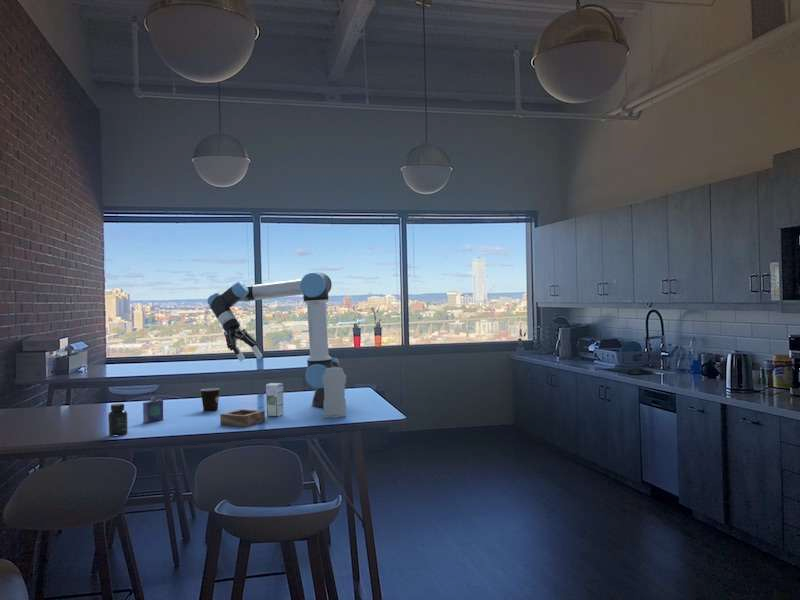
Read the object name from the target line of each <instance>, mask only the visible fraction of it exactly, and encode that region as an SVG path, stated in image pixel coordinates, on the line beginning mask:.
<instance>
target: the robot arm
mask: <svg viewBox="0 0 800 600" xmlns="http://www.w3.org/2000/svg"><path fill="white" fill-rule="evenodd" d="M332 287H333V285H332V280H331V278H330V277H329V276H328V275H327V274H326V273H323V272H319V271H310V272H308V273H306V274H304V276H302V278H301V279H295V280H285V281H277V282H269V283H259V284H253V285H246V284H245V283H244V282H243V281H237V282H235V283H233V284H232V285H231V286H230V287H229V288H227V289H226V290H225V291H224V292H223V293H220V292H215V293H214V294H210V296H208V298H207V304H208V306H209V308H210V310H211V311H212V313H213V314H214V316H215V318H216V320H217V321H218V322H219V324H220V325H221V326H222V329H223V330H224V332H223V335H224V337H225V342H226V347H227V349H229V351H231V352H232V351H233V352H234V354H235V356H236V357H237V359H238V361H239V362H241V363H242V361H244V359H245V358H246V357H245V356H244V354H243V352H242V351H241V349H240V348H239V346H237V340H239V341H243V342H244V343H245V344H246V345H248V346H249V347H251V351H252V352H253V354H254V355H255V357H256V359H257V360H260V359H261V358H262V357H263V354H262V352H261V351H260V349H259V348H258V346H257V345H258V344H259V342H258V341H257V340H255V338H254V337H253V336H252V335H250V334H249V333H248V331H247V330H246V328H243V329H241V328H240V326H241V324H240V322H239V321H238V319H237V318H236V316H235V315H234V313H233V311H232V310H231V308H232V307H233V306H234V305H235V304H237V303H239V302H251V301H259V300H266V299H267V300H268V299H269V300H270V299H277V298H286V297H295V296H302V295H303V298H302V299H303V303H305V304H306V308H307V323H308V324H307V325H308V338H309V339H308V341H309V342H308V343H309V357H308V358H307V360H306V362H307V365H306V366H307V369H306V371H305V380H306V383H307V384H308V385H309V386H310V387H311V388H313V389H315V391H314V395H313V397H312V403H311V404H312V405H311V406H313V407H316V408H324V403H323V402H324V398H325V397H324V385H323V384H322V376H323V375H324V373H325V369H328V368H332V367H337V368H340V360H339V359H338V358H336V357H332V356H330V354H329V339H328V323H327V307H326V306H327V305H326V304H327V303H328V302H329V293H330V292H331V290H332Z"/></svg>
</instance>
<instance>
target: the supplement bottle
mask: <svg viewBox="0 0 800 600" xmlns="http://www.w3.org/2000/svg"><path fill="white" fill-rule="evenodd" d="M110 410H111V411H110V412H109V413H108V414H107V415H108V416H107V418H108V435H109V436H110V435H123V436H126V435H127V434H128V432H129V431H128V430H129V429H128V412H127V410H125V404H124V403H112V404H111V405H110ZM125 434H126V435H125Z"/></svg>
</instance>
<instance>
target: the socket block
mask: <svg viewBox="0 0 800 600" xmlns="http://www.w3.org/2000/svg"><path fill="white" fill-rule="evenodd" d="M265 412H266V411H265V410H258V409H246V408H245V409H244V408H240V409H236V410H232V411H228V412H224V413H221V414H220V415H219V416H220V417H219V418H220V420H219V421H220V422H219V423H220V426H229V427H238V428H239V427H240V428H247V427H250V426H253V425H257V424H260V422H261V423H264V422H265V421H266V418H265V417H266V416H265ZM263 421H264V422H263Z"/></svg>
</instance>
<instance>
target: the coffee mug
mask: <svg viewBox="0 0 800 600" xmlns="http://www.w3.org/2000/svg"><path fill="white" fill-rule="evenodd" d="M200 394H201V401H202V408H203V412H205V411H212V412H216V410H217V411H218V410H219V399H220V388H218V387H211V388H202V389H200Z"/></svg>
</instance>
